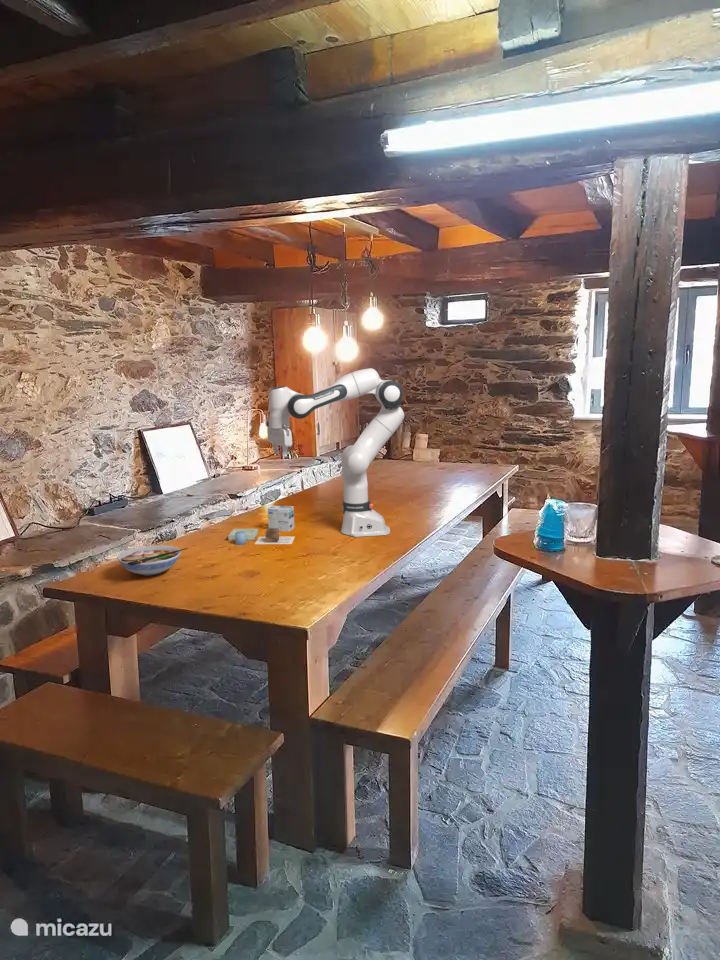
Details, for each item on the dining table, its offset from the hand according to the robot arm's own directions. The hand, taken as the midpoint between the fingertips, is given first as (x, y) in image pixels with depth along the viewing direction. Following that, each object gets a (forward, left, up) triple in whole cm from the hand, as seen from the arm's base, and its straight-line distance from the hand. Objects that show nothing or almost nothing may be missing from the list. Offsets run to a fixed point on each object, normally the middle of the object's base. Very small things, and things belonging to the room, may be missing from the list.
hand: (280, 455), depth 290 cm
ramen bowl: (+42, +52, -37) cm, 76 cm away
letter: (+2, +9, -36) cm, 38 cm away
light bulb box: (+2, -10, -37) cm, 38 cm away
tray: (+17, +4, -36) cm, 40 cm away
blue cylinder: (+16, +14, -36) cm, 42 cm away
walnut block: (+3, +10, -36) cm, 38 cm away
